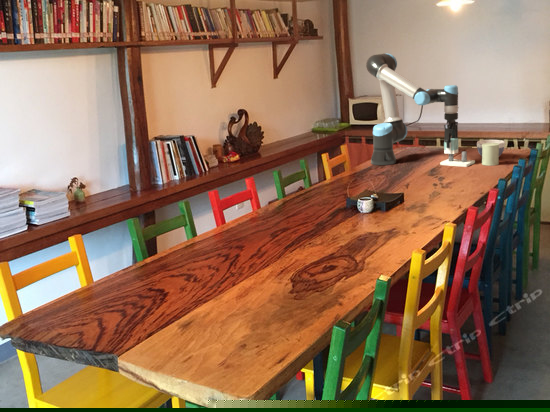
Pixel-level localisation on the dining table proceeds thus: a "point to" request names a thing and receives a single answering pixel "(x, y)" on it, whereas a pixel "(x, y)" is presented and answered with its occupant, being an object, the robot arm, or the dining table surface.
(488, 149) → the can
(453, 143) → the sleeve
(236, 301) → the dining table surface
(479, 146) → the bowl
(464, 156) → the pinboard
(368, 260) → the dining table surface
